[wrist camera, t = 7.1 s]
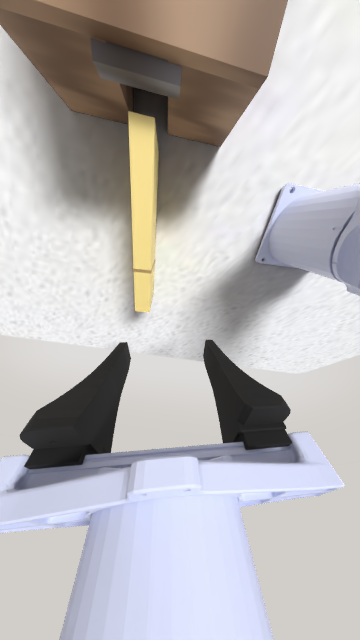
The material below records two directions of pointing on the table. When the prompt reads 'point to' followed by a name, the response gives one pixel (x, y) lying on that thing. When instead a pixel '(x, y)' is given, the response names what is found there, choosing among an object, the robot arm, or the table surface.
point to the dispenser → (151, 55)
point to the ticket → (143, 204)
